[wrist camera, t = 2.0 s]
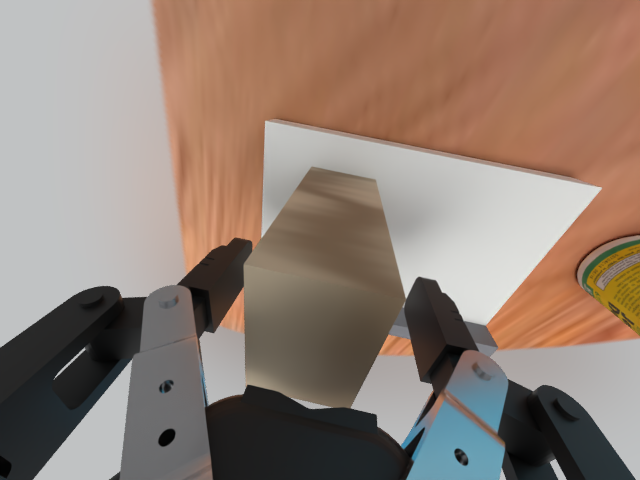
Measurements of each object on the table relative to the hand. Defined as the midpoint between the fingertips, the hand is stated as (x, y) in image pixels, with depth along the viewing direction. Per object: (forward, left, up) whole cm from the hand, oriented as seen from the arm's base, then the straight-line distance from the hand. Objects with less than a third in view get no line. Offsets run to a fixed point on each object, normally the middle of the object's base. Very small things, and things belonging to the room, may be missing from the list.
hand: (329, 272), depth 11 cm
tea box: (0, 0, -6) cm, 5 cm away
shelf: (+1, +4, -8) cm, 9 cm away
